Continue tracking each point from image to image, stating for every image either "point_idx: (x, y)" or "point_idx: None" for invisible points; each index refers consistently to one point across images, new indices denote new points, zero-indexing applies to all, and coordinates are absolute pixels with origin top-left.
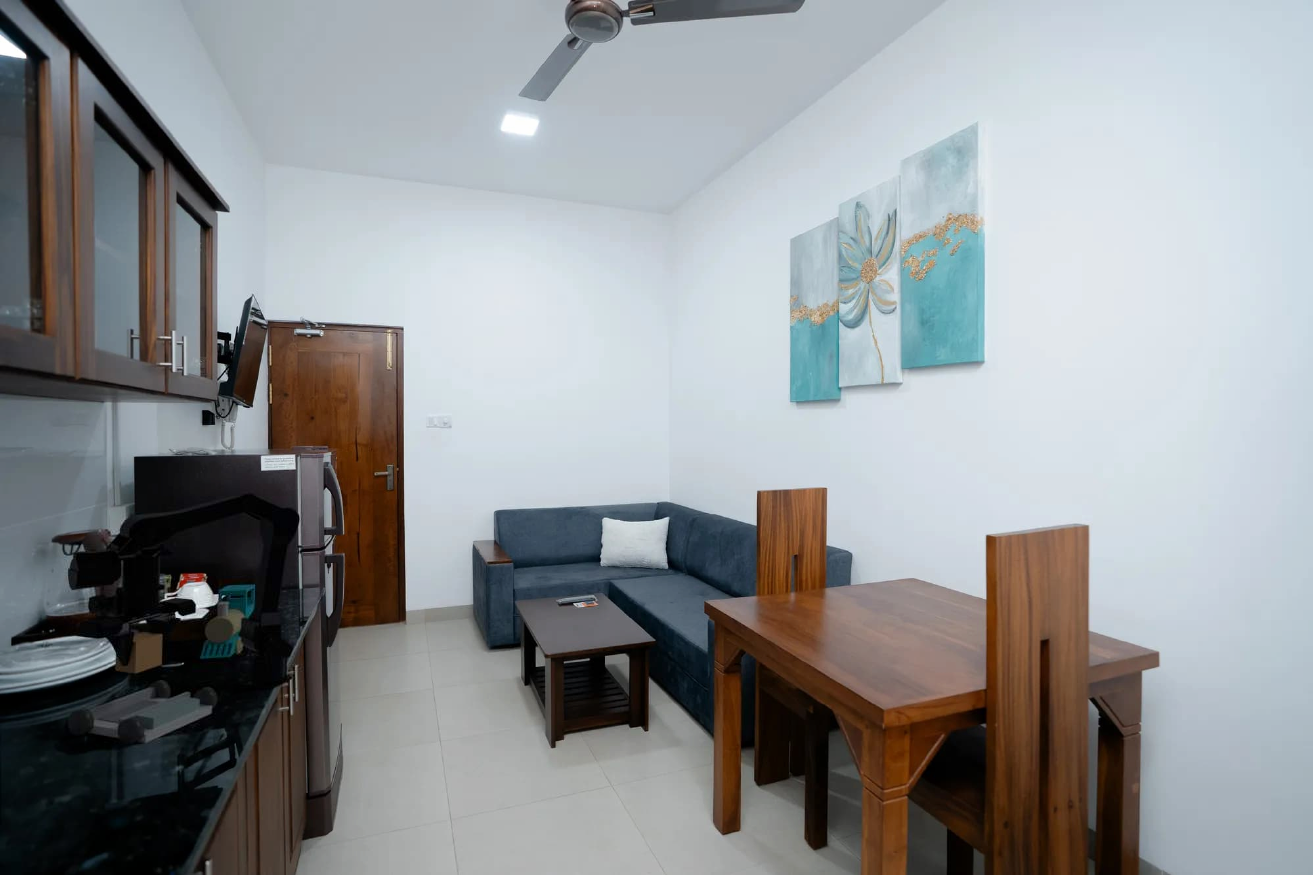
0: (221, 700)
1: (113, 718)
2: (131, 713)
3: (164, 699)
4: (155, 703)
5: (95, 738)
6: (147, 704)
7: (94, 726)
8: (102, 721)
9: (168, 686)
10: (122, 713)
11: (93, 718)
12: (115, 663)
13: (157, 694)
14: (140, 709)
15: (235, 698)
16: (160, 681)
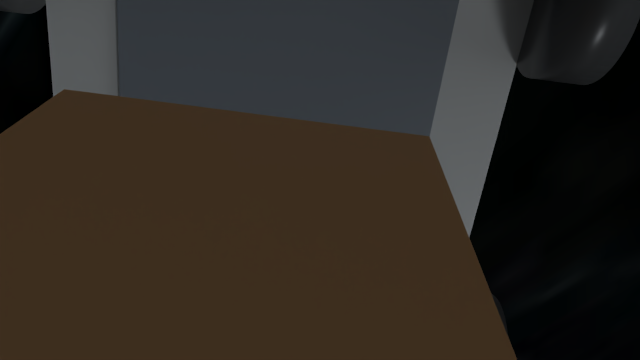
0: (586, 303)
1: (150, 48)
2: (241, 91)
3: (493, 91)
4: (409, 104)
5: (34, 66)
6: (385, 68)
7: (51, 9)
8: (108, 3)
9: (589, 79)
10: (227, 33)
11: (22, 11)
12: (14, 125)
13: (538, 11)
14: (305, 94)
15: (613, 346)
16: (612, 18)
